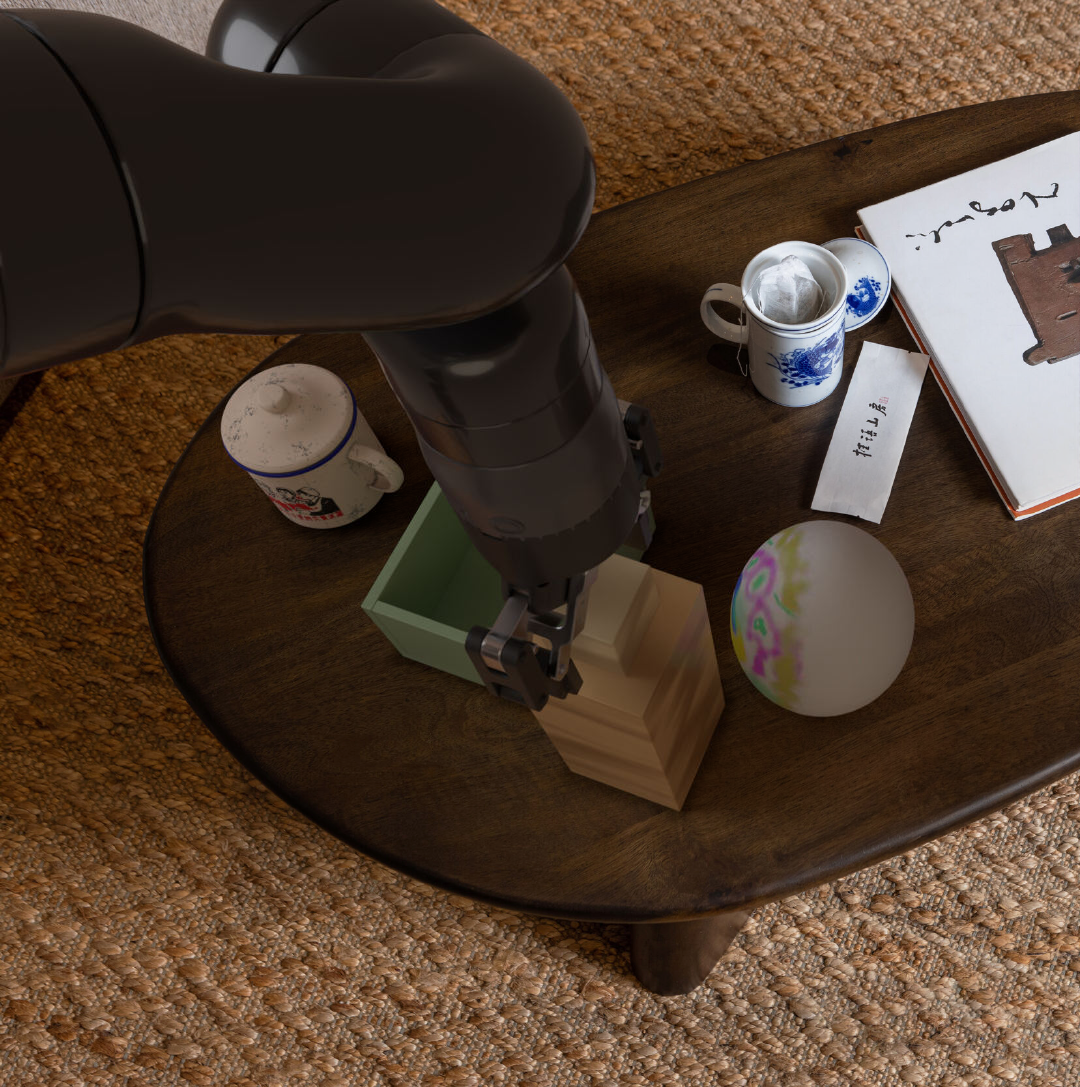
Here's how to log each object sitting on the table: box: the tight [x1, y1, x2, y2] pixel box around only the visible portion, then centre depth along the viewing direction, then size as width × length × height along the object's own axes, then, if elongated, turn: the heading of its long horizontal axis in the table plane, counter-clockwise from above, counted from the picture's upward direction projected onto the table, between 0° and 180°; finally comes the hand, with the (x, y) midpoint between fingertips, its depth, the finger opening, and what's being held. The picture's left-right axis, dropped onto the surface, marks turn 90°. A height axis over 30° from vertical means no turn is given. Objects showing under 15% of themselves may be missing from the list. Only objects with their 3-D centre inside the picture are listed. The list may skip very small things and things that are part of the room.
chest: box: [360, 479, 657, 687], centre depth 81 cm, size 16×13×9 cm
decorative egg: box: [729, 519, 916, 718], centre depth 77 cm, size 12×12×15 cm
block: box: [540, 553, 660, 676], centre depth 61 cm, size 5×5×5 cm
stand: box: [530, 567, 726, 812], centre depth 72 cm, size 8×8×20 cm
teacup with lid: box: [220, 363, 405, 530], centre depth 84 cm, size 12×9×12 cm
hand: (597, 610), depth 61 cm, fingers open, 8 cm apart
